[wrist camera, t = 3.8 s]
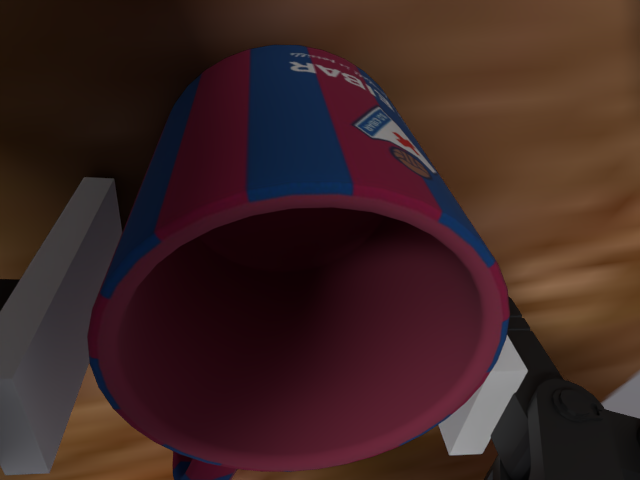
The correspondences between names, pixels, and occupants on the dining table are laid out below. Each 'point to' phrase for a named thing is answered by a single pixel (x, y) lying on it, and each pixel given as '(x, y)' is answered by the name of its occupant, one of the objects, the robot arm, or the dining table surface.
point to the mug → (292, 277)
